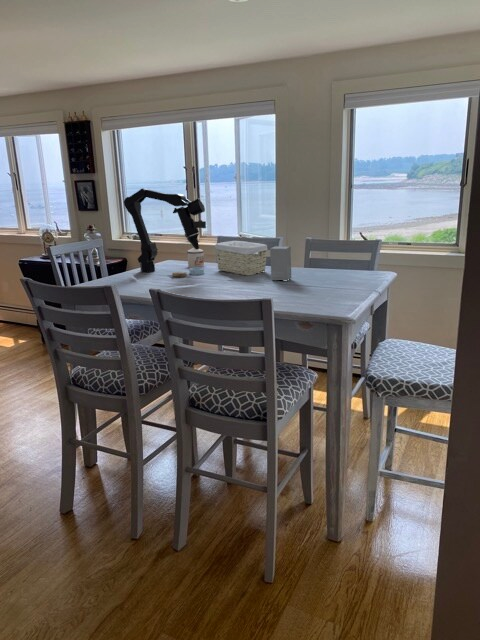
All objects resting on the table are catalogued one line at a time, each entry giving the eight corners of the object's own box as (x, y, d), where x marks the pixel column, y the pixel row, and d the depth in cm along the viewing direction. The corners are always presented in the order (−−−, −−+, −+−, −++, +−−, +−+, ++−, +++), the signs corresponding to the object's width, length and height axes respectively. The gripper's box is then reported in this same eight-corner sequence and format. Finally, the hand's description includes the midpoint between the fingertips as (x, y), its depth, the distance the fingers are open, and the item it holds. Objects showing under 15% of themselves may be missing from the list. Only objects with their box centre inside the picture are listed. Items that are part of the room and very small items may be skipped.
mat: (173, 280, 225) (172, 278, 225) (166, 277, 234) (166, 275, 233) (192, 278, 229) (192, 276, 229) (186, 275, 238) (186, 273, 237)
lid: (174, 278, 226) (174, 274, 226) (170, 275, 233) (170, 272, 232) (188, 276, 229) (188, 273, 229) (184, 274, 235) (184, 271, 235)
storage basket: (268, 272, 243) (269, 243, 239) (247, 277, 232) (247, 247, 228) (236, 267, 259) (235, 240, 255) (214, 271, 248) (213, 243, 244)
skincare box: (291, 279, 225) (292, 246, 220) (286, 282, 218) (287, 248, 214) (275, 278, 228) (275, 245, 224) (269, 281, 222) (269, 247, 217)
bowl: (192, 277, 233) (192, 270, 232) (187, 275, 240) (187, 268, 239) (206, 276, 236) (205, 269, 235) (201, 273, 242) (200, 266, 241)
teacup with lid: (196, 269, 254) (195, 247, 251) (184, 267, 260) (183, 246, 256) (211, 265, 263) (210, 245, 260) (199, 264, 269) (198, 243, 265)
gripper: (202, 211, 222) (214, 243, 225) (200, 214, 240) (211, 243, 243) (180, 220, 221) (192, 251, 224) (180, 222, 239) (191, 251, 242)
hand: (197, 249), depth 233 cm, fingers open, 9 cm apart
